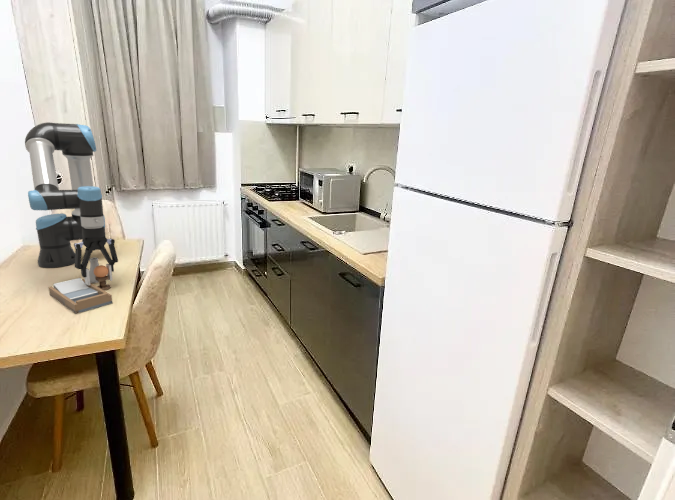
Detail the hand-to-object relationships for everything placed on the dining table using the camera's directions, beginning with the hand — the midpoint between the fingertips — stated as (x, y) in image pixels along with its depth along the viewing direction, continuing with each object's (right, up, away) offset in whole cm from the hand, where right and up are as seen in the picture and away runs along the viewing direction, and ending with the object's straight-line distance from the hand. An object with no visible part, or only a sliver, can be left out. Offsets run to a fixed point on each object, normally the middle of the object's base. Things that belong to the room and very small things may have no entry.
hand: (99, 281), depth 145 cm
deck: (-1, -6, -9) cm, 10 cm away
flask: (-8, 0, +10) cm, 12 cm away
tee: (0, -3, +2) cm, 4 cm away
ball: (+1, +4, 0) cm, 4 cm away
